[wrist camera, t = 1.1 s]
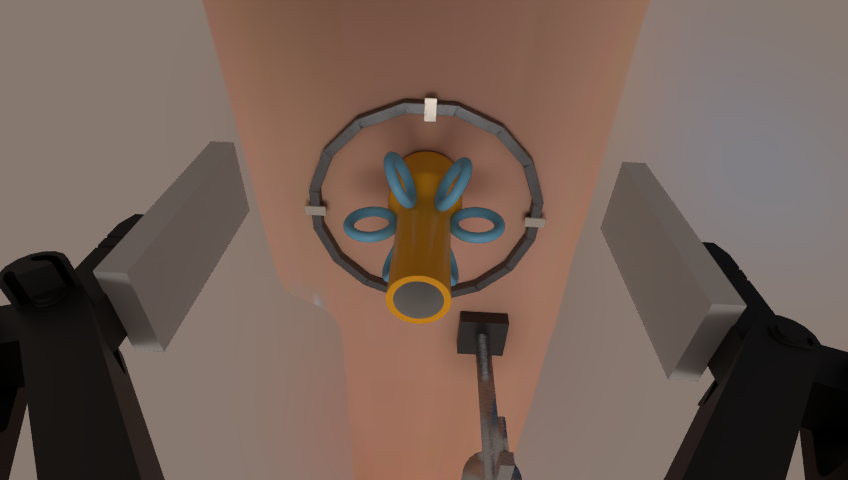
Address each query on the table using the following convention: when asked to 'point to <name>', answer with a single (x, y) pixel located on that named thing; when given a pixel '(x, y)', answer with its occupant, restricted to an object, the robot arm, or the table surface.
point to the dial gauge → (487, 395)
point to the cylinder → (423, 231)
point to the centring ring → (430, 110)
